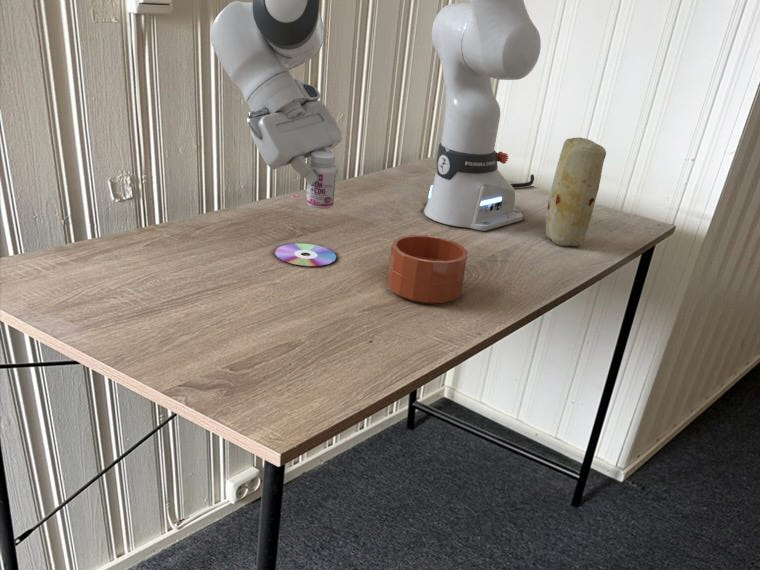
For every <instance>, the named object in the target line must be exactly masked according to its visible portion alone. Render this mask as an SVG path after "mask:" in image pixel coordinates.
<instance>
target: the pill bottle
mask: <svg viewBox="0 0 760 570" xmlns="http://www.w3.org/2000/svg"><path fill="white" fill-rule="evenodd" d="M335 162H336V156H335V154H334V153H333V152H332V153H329V152H323V151H315V152H312V154H311V157H310V164H308V166H309V167H310V168H311V169H312V170H314V169H315V170H316V171H317V173H318V175H319V176H320V180H319V181H317V182H316V183H315V184H312V185H309V184H308V182H307V181H306V182H307V183H306V205H308V206H309V207H311V208H313V209H320V210H321V209H322V210H326V209H327V210H328V209H331V208H332V207H333V206H334V203H335V191H336V190H335V189H336V177H337V174H336V169H335V167H334V166H333V165H334V164H335Z"/></svg>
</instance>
